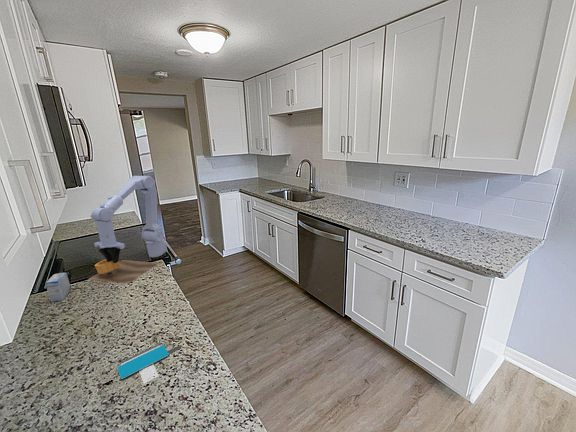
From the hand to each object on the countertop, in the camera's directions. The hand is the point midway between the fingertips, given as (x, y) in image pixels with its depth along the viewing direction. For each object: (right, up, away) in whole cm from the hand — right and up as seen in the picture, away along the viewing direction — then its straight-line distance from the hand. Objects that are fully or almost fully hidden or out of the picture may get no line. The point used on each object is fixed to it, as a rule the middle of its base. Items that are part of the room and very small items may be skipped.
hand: (113, 262), depth 121 cm
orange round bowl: (-3, -4, +2) cm, 5 cm away
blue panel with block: (+40, -22, -47) cm, 66 cm away
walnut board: (+2, -6, +6) cm, 9 cm away
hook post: (-4, -6, +3) cm, 7 cm away
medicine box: (-14, -12, -11) cm, 22 cm away
